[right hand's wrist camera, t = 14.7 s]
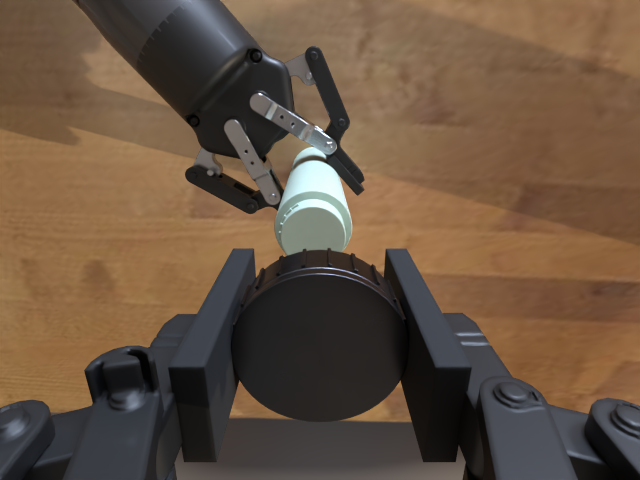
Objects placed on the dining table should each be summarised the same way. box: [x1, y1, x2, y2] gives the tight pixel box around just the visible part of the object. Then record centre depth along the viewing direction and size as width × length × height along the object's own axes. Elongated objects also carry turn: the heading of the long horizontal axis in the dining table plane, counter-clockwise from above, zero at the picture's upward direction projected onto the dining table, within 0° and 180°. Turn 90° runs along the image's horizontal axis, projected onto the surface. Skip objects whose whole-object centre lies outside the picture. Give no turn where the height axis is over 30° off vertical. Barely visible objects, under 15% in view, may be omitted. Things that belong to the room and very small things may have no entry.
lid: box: [231, 248, 409, 422], centre depth 11 cm, size 5×5×2 cm
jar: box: [274, 147, 352, 256], centre depth 28 cm, size 4×4×19 cm
